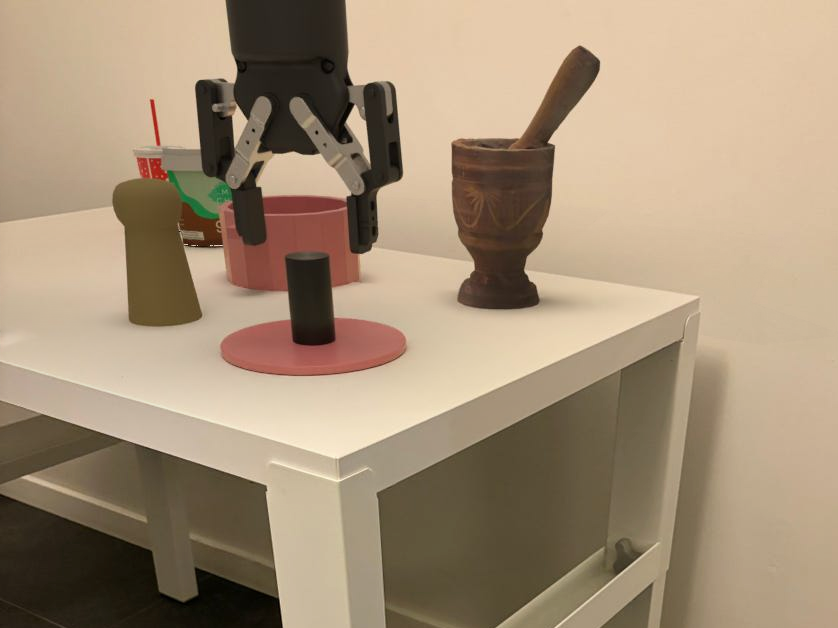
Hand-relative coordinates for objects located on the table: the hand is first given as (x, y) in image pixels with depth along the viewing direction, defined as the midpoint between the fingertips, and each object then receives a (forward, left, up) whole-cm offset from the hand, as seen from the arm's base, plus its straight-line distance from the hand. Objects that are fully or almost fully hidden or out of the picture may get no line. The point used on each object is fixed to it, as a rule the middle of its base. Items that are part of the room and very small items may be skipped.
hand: (307, 248), depth 70 cm
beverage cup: (-43, +43, -8) cm, 61 cm away
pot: (-14, +22, -8) cm, 27 cm away
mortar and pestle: (+9, +21, -8) cm, 24 cm away
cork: (-16, +4, -8) cm, 18 cm away
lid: (0, 0, -7) cm, 7 cm away
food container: (-31, +38, -8) cm, 50 cm away
